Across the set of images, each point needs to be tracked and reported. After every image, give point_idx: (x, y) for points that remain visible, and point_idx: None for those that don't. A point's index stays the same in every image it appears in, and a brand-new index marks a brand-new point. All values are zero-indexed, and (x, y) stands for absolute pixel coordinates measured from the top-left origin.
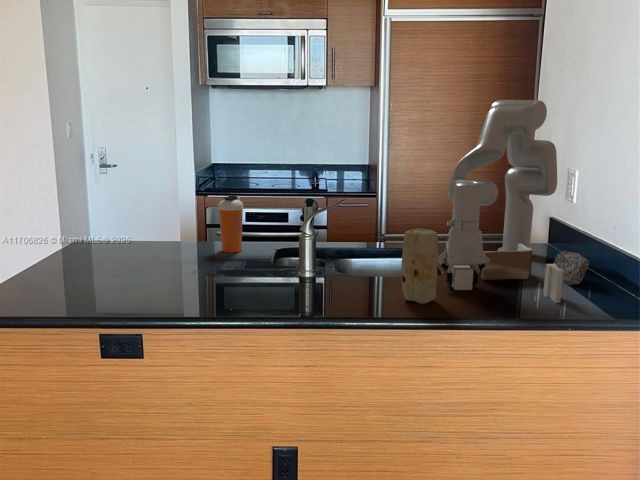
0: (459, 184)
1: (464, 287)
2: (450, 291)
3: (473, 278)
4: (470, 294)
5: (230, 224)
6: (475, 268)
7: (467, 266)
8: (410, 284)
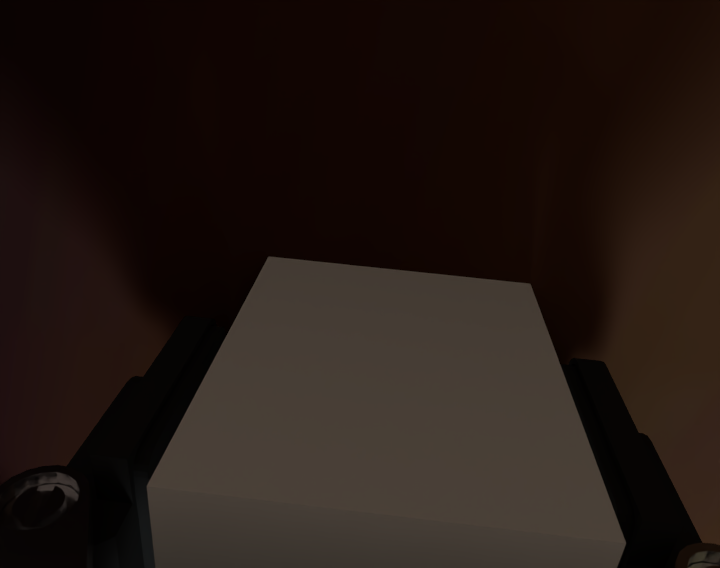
0: None
1: (383, 285)
2: (642, 212)
3: None
4: (367, 20)
5: None
6: (68, 565)
7: None
8: None
